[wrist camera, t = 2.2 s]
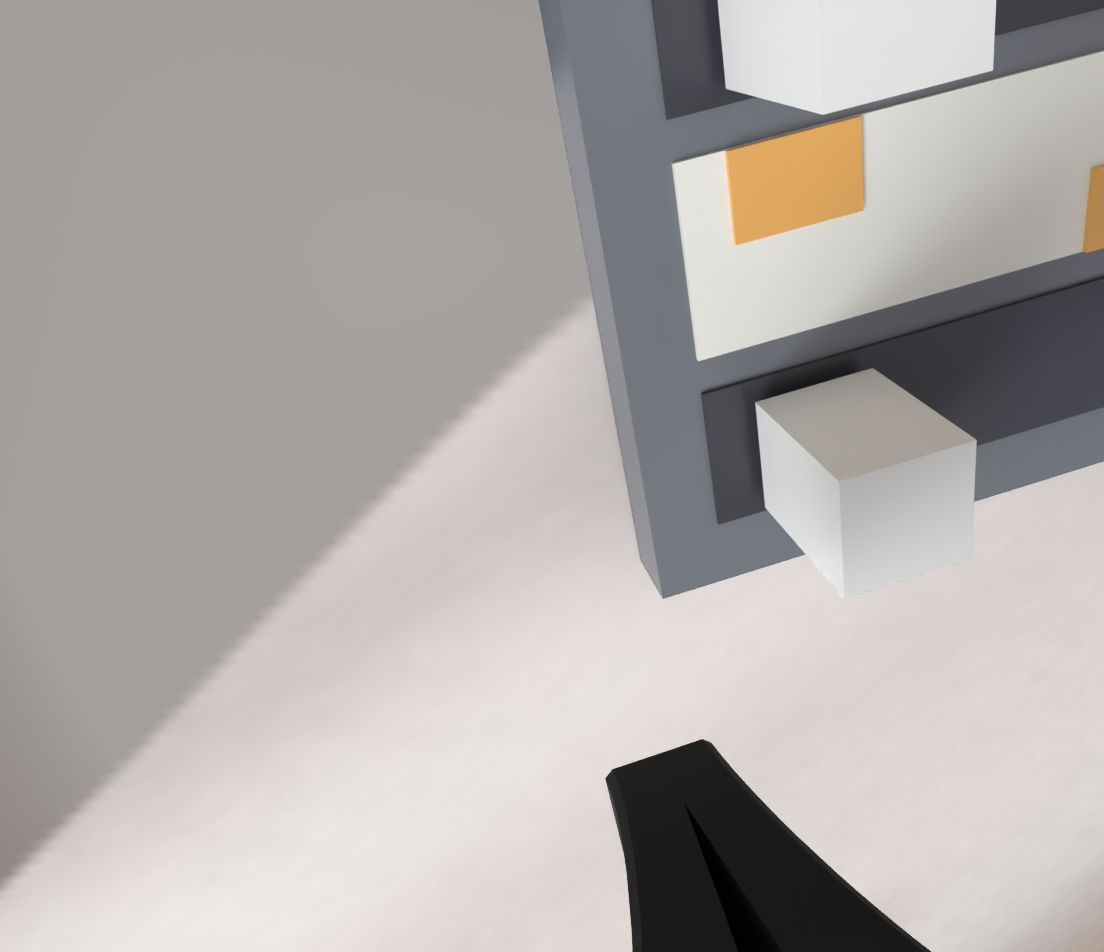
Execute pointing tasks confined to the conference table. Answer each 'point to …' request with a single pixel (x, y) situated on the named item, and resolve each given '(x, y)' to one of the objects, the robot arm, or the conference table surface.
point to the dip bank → (830, 257)
